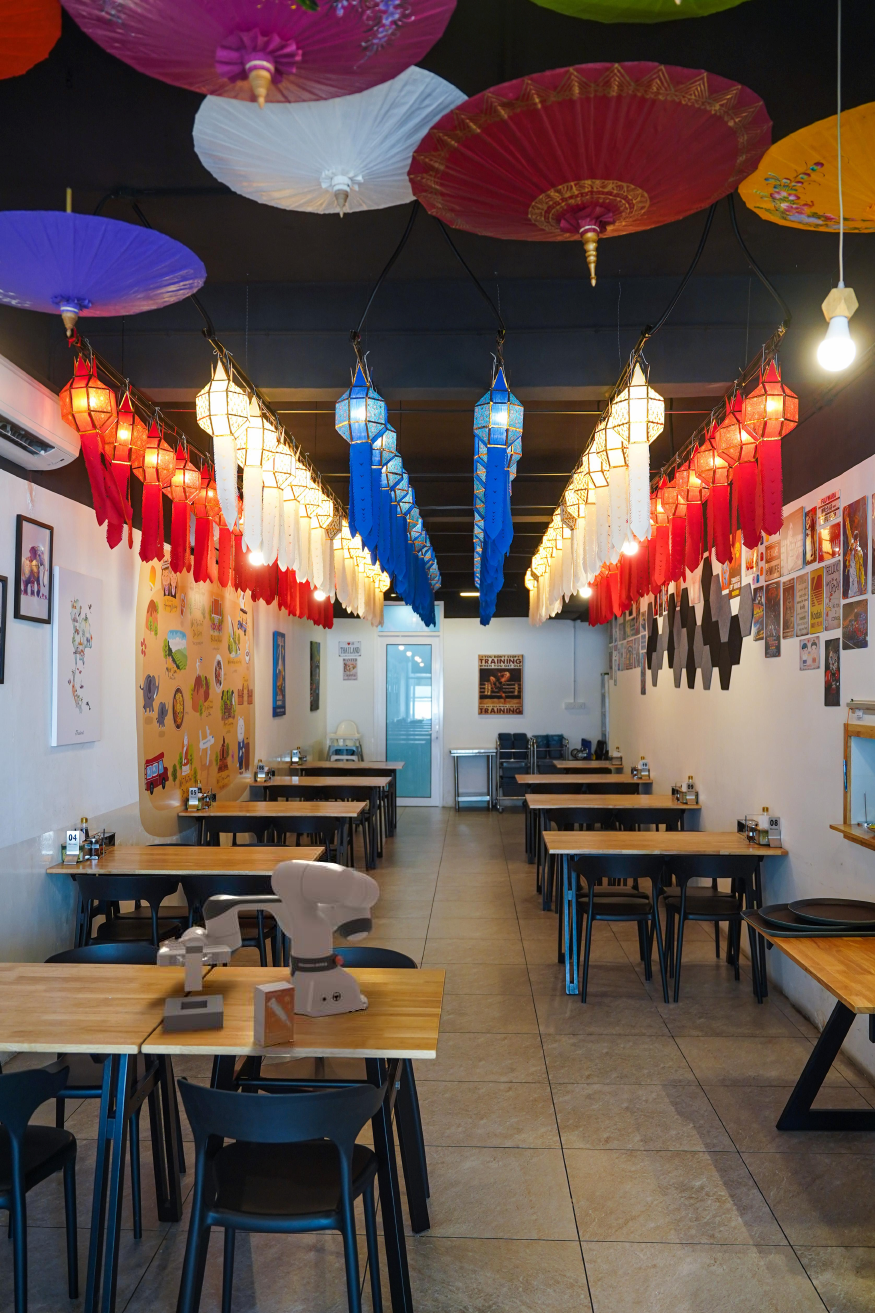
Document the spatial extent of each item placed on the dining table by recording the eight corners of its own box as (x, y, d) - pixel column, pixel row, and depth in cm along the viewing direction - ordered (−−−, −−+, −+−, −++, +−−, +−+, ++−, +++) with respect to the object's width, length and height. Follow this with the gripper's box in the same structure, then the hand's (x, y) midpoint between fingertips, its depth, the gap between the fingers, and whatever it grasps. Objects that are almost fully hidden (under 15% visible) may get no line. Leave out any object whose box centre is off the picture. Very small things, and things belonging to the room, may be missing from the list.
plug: (201, 985, 249) (202, 941, 250) (201, 990, 244) (202, 945, 245) (184, 986, 248) (186, 942, 249) (184, 991, 243) (185, 946, 244)
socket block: (222, 1010, 239) (222, 994, 240) (223, 1027, 225) (223, 1011, 226) (165, 1014, 236) (166, 998, 236) (163, 1032, 222) (163, 1016, 222)
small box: (263, 1048, 211) (264, 992, 212) (252, 1040, 216) (253, 985, 217) (294, 1041, 216) (295, 986, 217) (282, 1033, 221) (283, 980, 222)
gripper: (230, 959, 261) (232, 972, 248) (158, 964, 256) (155, 977, 243) (231, 937, 262) (232, 949, 249) (158, 942, 257) (156, 953, 244)
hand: (193, 963), depth 246 cm, fingers closed on plug, 5 cm apart
